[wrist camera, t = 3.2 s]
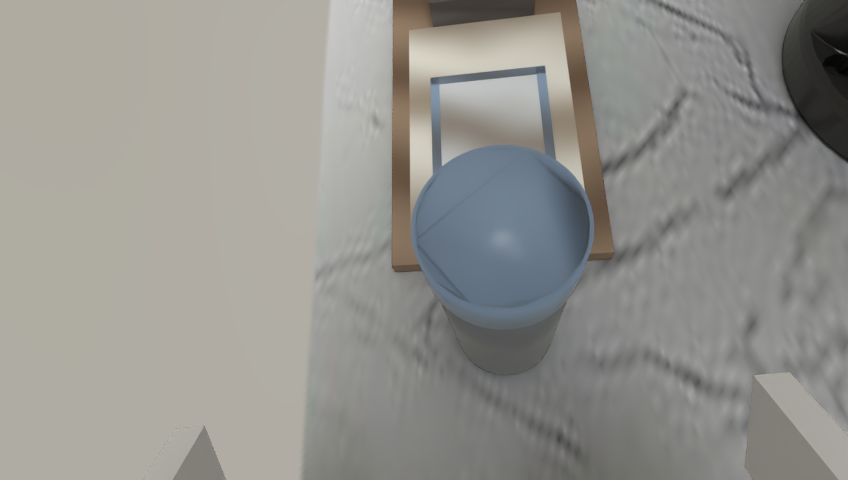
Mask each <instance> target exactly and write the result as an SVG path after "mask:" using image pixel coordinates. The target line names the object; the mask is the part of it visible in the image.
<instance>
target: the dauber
mask: <svg viewBox="0 0 848 480" xmlns="http://www.w3.org/2000/svg"><path fill="white" fill-rule="evenodd" d="M411 237H412V244H413V249H414V253H415V255H416V258H417V260H418V263H419V265H420V267H421V269H422V271H423V273H424V275H425V277H426V279H427V281H428V284H429V285H430V287H431V289H432V291H433V293H434V294H435V296H436V297H437V298H438V300H439V301H440V302H441V303H442V305H443V308H444V310H445V312H446V314H447V316H448V318H449V321H450V323H451V325H452V327H453V329H454V331H455V334H456V336H457V338H458V340H459V342H460V344H461V347H462V349H463V350H464V352H465V354H466V355H467V356H468V358H469V359H470V360H471V361H472V362H473V363H475V364H476V365H477V366H478V367H480V368H482V369H483V370H486V371H488V372H491V373H494V374H500V375H512V374H517V373H521V372H524V371H526V370H528V369H530V368H532V367H533V366H534V365H536V364H537V363H538V362H539V361H540V360H541V359H542V358H543V356H544V355H545V354H546V352H547V350H548V348H549V345H550V343H551V340H552V338H553V335H554V333H555V330H556V327H557V325H558V322H559V320H560V317H561V315H562V312H563V309H564V307H565V304H566V302H567V300H568V298H569V297H570V296H571V294H572V293H573V291H574V289H575V288H576V286H577V284H578V281H579V279H580V277H581V274H582V272H583V269H584V267H585V265H586V262H587V260H588V257H589V254H590V252H591V248H592V244H593V239H594V217H593V212H592V208H591V204H590V202H589V199H588V196H587V194H586V192H585V191H584V189H583V187H582V185H581V184H580V183H579V181H578V180H577V179H576V177H575V176H574V175H573V174H572V173H571V172H570V171H569V170H568V169H567V168H566V167H565V166H563V165H562V164H561V163H560V162H558V161H557V160H555V159H553V158H552V157H550V156H548V155H546V154H544V153H542V152H539V151H536V150H533V149H530V148H527V147H521V146H515V145H492V146H485V147H481V148H477V149H473V150H470V151H468V152H465V153H463V154H461V155H459V156H457V157H455V158H453V159H451V160H450V161H449V162H447V163H446V164H444V165H443V166H442V167H441V168H440V169H438V170H437V171H436V172H435V173H434V174H433V175H432V177H431V178H430V179H429V180H428V181H427V183H426V184H425V186H424V187H423V189H422V190H421V192H420V194H419V196H418V198H417V201H416V204H415V207H414V210H413V215H412V220H411Z"/></svg>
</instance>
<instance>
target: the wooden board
mask: <svg viewBox="0 0 848 480" xmlns="http://www.w3.org/2000/svg"><path fill="white" fill-rule="evenodd" d="M492 145H515V146H521V147H527V148H530V149H533V150H536V151H539V152H542V153H544V154H546V155H548V156H550V157H552V158H553V159H555V160H557V161H558V162H560V163H561V164H562V165H563V166H565V167H566V168H567V169H568V170H569V171H570V172H571V173H572V174H573V175H574V176H575V177H576V179H577V180H578V181H579V183H580V184H581V185H582V187H583V189H584V191H585V192H586V194H587V196H588V199H589V202H590V204H591V208H592V212H593V217H594V239H593V244H592V248H591V252H590V254H589V257H588V260H600V259H611V257H612V256H613V254H614V247H613V240H612V234H611V227H610V220H609V214H608V207H607V201H606V194H605V188H604V181H603V175H602V168H601V161H600V155H599V148H598V142H597V135H596V129H595V122H594V115H593V109H592V102H591V96H590V89H589V83H588V76H587V70H586V63H585V56H584V50H583V43H582V37H581V30H580V24H579V17H578V10H577V4H576V0H393V140H392V267H393V269H394V270H395V272H402V271H418V270H422V269H421V267H420V265H419V263H418V260H417V258H416V255H415V253H414V249H413V244H412V237H411V220H412V215H413V210H414V207H415V204H416V201H417V198H418V196H419V194H420V192H421V190H422V189H423V187H424V186H425V184H426V183H427V181H428V180H429V179H430V178H431V177H432V175H433V174H434V173H435V172H436V171H437V170H438V169H440V168H441V167H442V166H443V165H444V164H446V163H447V162H449V161H450V160H451V159H453V158H455V157H457V156H459V155H461V154H463V153H465V152H468V151H470V150H473V149H477V148H481V147H485V146H492Z"/></svg>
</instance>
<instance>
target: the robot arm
mask: <svg viewBox="0 0 848 480" xmlns="http://www.w3.org/2000/svg"><path fill="white" fill-rule="evenodd" d="M783 67H784V73H785V78H786V82H787V85H788V88H789V91H790V93H791V96H792V98H793V100H794V102H795V104H796V106H797V107H798V109H799V111H800V112H801V114H802V115H803V117H804V118H805V119H806V121H807V122H808V123H809V125H810V126H811V127H812V128H813V129H814V130H815V132H816V133H817V134H818V135H819V136H820V137H821V138H822V139H823V140H824V141H826V142H827V143H828V144H829V145H830V146H831V147H832V148H834V149H835V150H836V151H837V152H839V153H840V154H841V155H842V156H844V157H845V158H847V159H848V0H804V2H803V3H802V5H801V7H800V8H799V10H798V11H797V13H796V14H795V16H794V18H793V19H792V21H791V23H790V26H789V28H788V31H787V34H786V37H785V42H784V48H783ZM745 468H746V470H747V471H748V473H749V475H750V476H751V478H752V479H753V480H848V435H847V434H846V433H845V432H844V431H843V430H842V429H841V428H840V426H839V425H838V424H837V423H836V422H835V421H834V420H833V419H832V418H831V417H830V416H829V414H828V413H827V412H826V411H825V410H824V409H823V408H822V407H821V406H820V405H819V404H818V403H817V401H816V400H815V399H814V398H813V397H812V396H811V395H810V394H809V393H808V392H807V391H806V389H805V388H804V387H803V386H802V385H801V384H800V383H799V382H798V381H797V380H796V379H795V378H794V376H793V375H792V374H791V373H790V372H784V373H773V374H762V375H753V386H752V396H751V406H750V417H749V427H748V437H747V447H746V458H745ZM142 480H226V478H225V476H224V474H223V471H222V468H221V466H220V463H219V461H218V459H217V456H216V453H215V451H214V448H213V446H212V443H211V441H210V438H209V436H208V433H207V431H206V428H205V426H196V427H185V428H176V429H175V430H174V432H173V433H172V435H171V437H170V438H169V440H168V441H167V443H166V444H165V446H164V447H163V449H162V450H161V452H160V453H159V455H158V456H157V458H156V459H155V461H154V462H153V464H152V466H151V467H150V469H149V470H148V472H147V473H146V475H145V476H144V478H143V479H142Z"/></svg>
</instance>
